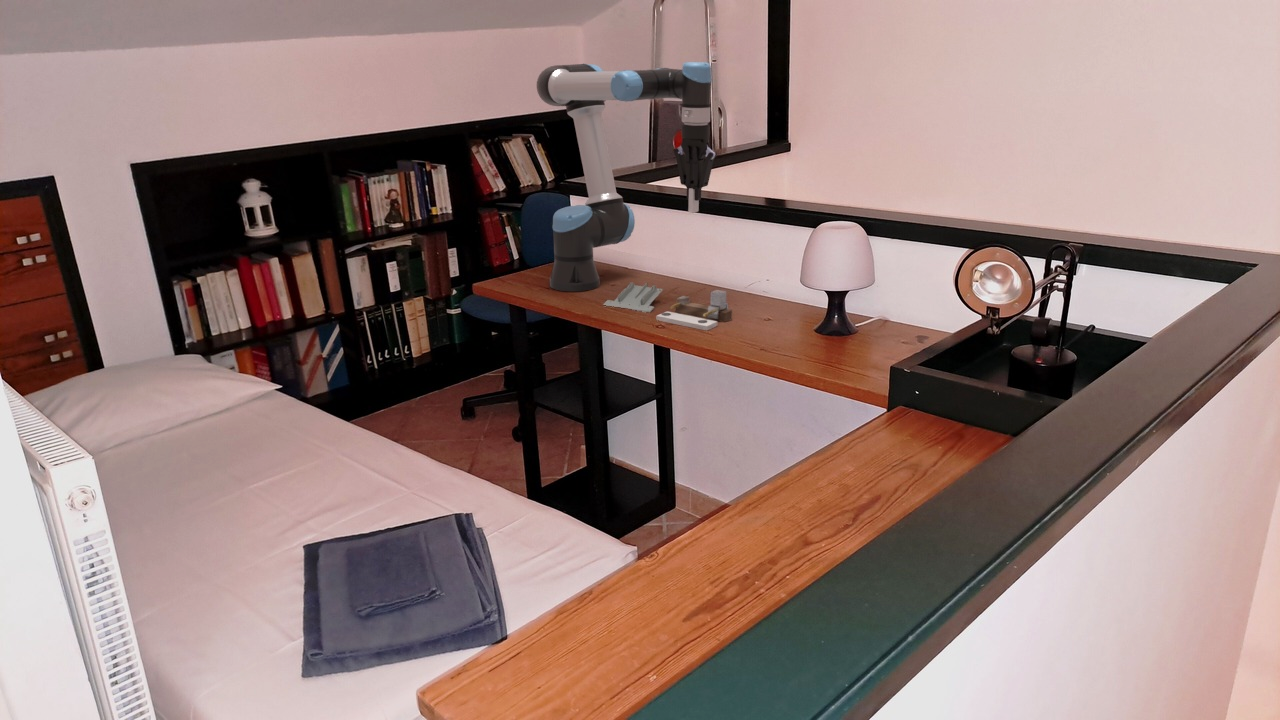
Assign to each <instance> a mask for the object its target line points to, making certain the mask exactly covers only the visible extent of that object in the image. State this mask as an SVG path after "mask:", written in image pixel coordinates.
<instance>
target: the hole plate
mask: <svg viewBox="0 0 1280 720" xmlns="http://www.w3.org/2000/svg"><path fill="white" fill-rule="evenodd" d="M655 317H656V318H655V319H656V320H655V321H658V320H659V321H660V322H664V323H668V324H671V325H673V324H674V325H678V326H683V327H687V328H692V329H697V330H703V331H709V330H711V329H714V328H716V327H718V320H713V319H708V318H703V317H698V316H693V315H688V314H683V313H678V312H673V311H665V312H661V313H660V314H657V315H656V316H655Z"/></svg>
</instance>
